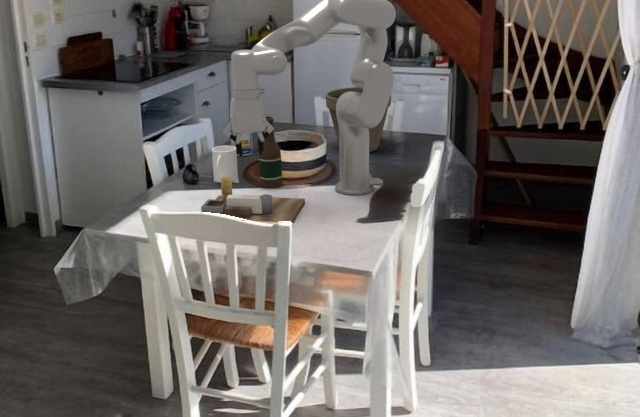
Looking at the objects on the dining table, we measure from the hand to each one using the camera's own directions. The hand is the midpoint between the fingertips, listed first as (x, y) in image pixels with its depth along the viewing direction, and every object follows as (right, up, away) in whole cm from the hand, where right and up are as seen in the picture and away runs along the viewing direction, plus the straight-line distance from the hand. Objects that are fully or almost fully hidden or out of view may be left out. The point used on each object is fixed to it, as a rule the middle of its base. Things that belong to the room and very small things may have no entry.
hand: (250, 154), depth 220 cm
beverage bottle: (-9, +4, +63) cm, 64 cm away
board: (+1, -17, +3) cm, 18 cm away
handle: (0, -17, -1) cm, 17 cm away
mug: (-11, -8, +29) cm, 32 cm away
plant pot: (+36, +7, +67) cm, 76 cm away
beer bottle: (+5, -10, +24) cm, 26 cm away
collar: (-10, -17, +1) cm, 20 cm away
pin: (-7, -15, +7) cm, 18 cm away
